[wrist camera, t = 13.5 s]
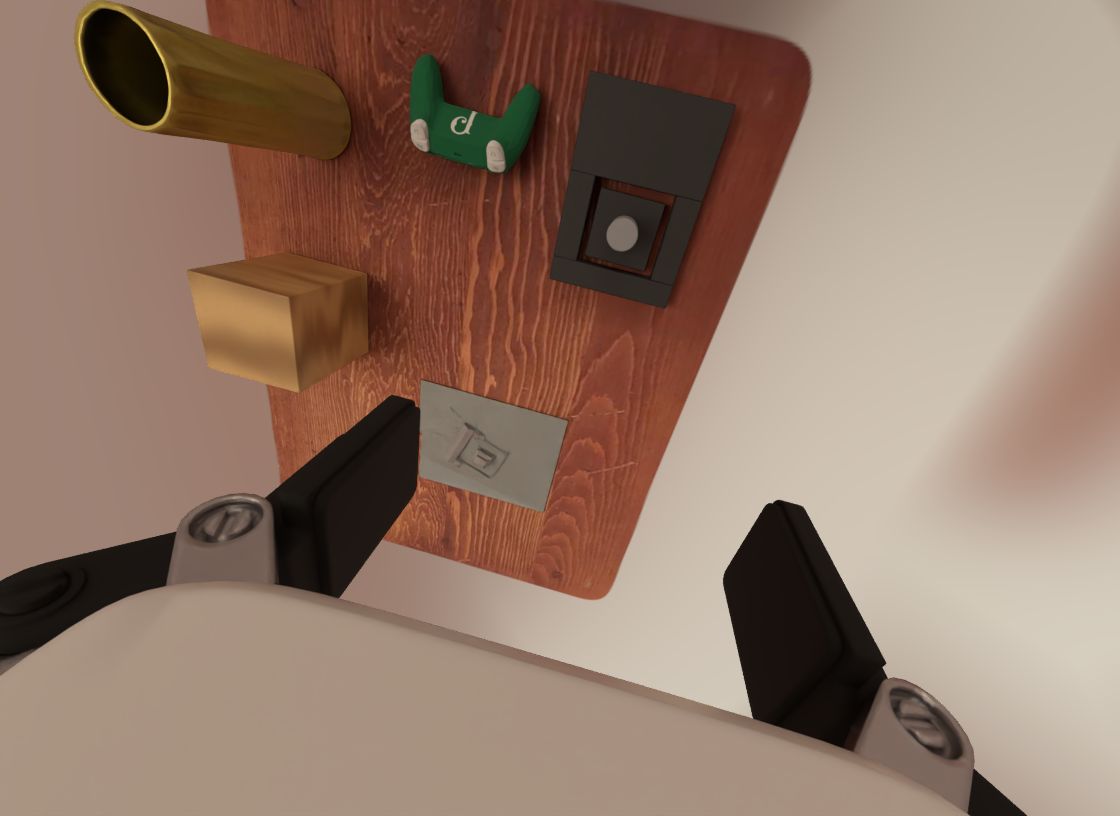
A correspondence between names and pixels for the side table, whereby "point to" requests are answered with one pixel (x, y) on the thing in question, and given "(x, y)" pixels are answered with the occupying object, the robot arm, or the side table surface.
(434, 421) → the grey flat square slab
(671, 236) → the base pad
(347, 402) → the side table surface
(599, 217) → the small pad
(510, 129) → the gaming controller
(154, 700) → the robot arm
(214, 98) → the vase
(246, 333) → the stand
